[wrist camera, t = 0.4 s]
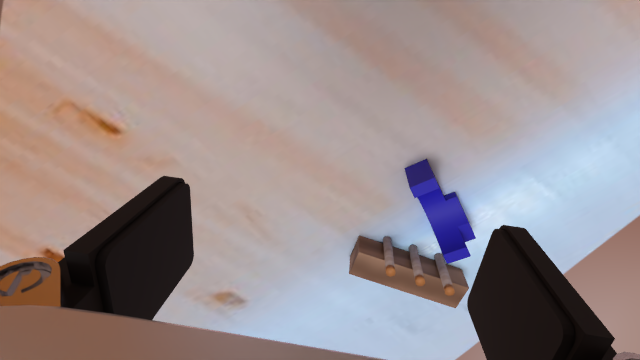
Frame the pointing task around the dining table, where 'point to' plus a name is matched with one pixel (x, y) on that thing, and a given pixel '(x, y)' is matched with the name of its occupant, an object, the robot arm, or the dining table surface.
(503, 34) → the dining table surface
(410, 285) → the peg rack
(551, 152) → the dining table surface
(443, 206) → the blue curved cradle
